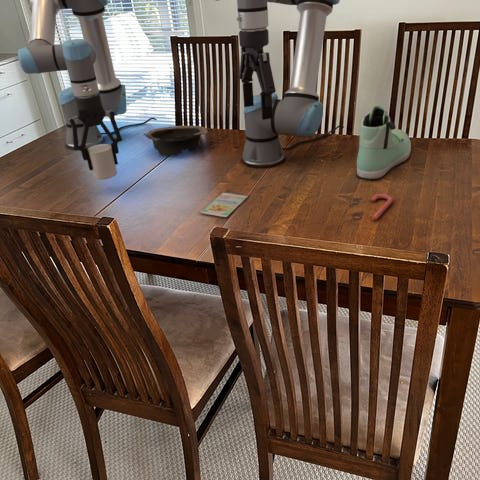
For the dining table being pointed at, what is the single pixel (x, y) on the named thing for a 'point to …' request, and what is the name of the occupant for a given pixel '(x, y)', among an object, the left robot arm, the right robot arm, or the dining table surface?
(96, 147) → the canister
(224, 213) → the baking ingredient package
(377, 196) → the candy cane
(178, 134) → the stone bowl
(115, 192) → the dining table surface
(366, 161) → the sneaker
